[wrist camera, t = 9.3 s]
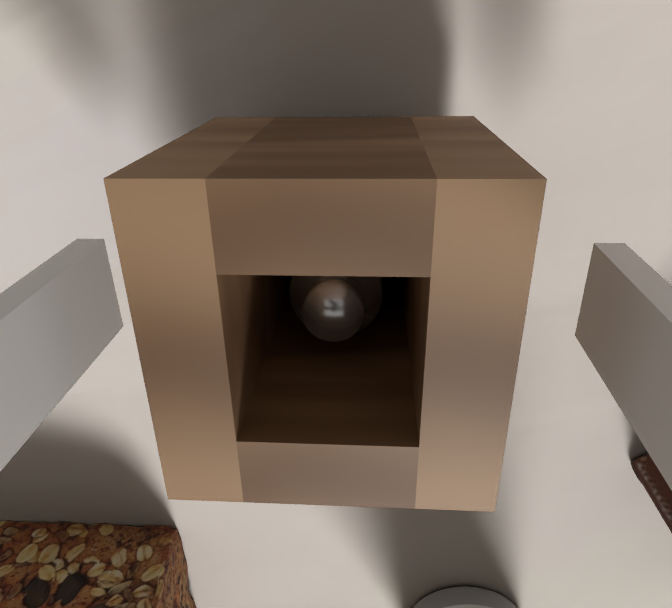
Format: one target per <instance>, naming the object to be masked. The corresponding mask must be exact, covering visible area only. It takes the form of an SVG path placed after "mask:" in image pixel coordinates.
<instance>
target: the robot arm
mask: <svg viewBox="0 0 672 608" xmlns="http://www.w3.org/2000/svg"><path fill="white" fill-rule="evenodd" d="M122 327H123V323H122V318H121V314H120V309H119V305H118V300H117V296H116V291H115V287H114V282H113V278H112V273H111V269H110V264H109V260H108V255H107V251H106V246H105V242H104V239H76V240H75V241H73V242H72V243H71V244H69V245H68V246H66V247H65V248H64V249H62V250H61V251H59V252H58V253H57V254H55V255H54V256H52V257H51V258H50V259H48V260H47V261H46V262H44V263H43V264H41V265H40V266H39V267H37V268H36V269H34V270H33V271H32V272H30V273H29V274H27V275H26V276H25V277H23V278H22V279H20V280H19V281H18V282H16V283H15V284H13V285H12V286H11V287H9V288H8V289H6V290H5V291H4V292H2V293H1V294H0V472H1V470H2V469H3V468H4V467H5V466H6V464H7V463H8V462H9V461H10V460H11V459H12V457H13V456H14V455H15V454H16V453H17V451H18V450H19V449H20V448H21V447H22V446H23V444H24V443H25V442H26V441H27V440H28V438H29V437H30V436H31V435H32V434H33V433H34V431H35V430H36V429H37V428H38V427H39V425H40V424H41V423H42V422H43V421H44V419H45V418H46V417H47V416H48V415H49V414H50V412H51V411H52V410H53V409H54V408H55V406H56V405H57V404H58V403H59V402H60V401H61V399H62V398H63V397H64V396H65V395H66V393H67V392H68V391H69V390H70V389H71V387H72V386H73V385H74V384H75V383H76V382H77V380H78V379H79V378H80V377H81V376H82V374H83V373H84V372H85V371H86V370H87V369H88V367H89V366H90V365H91V364H92V363H93V361H94V360H95V359H96V358H97V357H98V356H99V354H100V353H101V352H102V351H103V350H104V348H105V347H106V346H107V345H108V344H109V342H110V341H111V340H112V339H113V338H114V337H115V335H116V334H117V333H118V332H119V331H120V329H121V328H122ZM575 336H576V338H577V339H578V341H579V343H580V344H581V346H582V347H583V349H584V351H585V352H586V354H587V355H588V357H589V359H590V360H591V362H592V363H593V365H594V367H595V368H596V370H597V371H598V373H599V375H600V376H601V378H602V379H603V381H604V383H605V384H606V386H607V387H608V389H609V391H610V392H611V394H612V396H613V397H614V399H615V400H616V402H617V404H618V405H619V407H620V408H621V410H622V412H623V413H624V415H625V416H626V418H627V420H628V421H629V423H630V424H631V426H632V428H633V429H634V431H635V432H636V434H637V436H638V437H639V439H640V441H641V442H642V444H643V445H644V447H645V449H646V450H647V452H648V453H649V455H650V457H651V458H652V460H653V461H654V463H655V465H656V466H657V468H658V469H659V471H660V473H661V474H662V476H663V477H664V479H665V481H666V482H667V484H668V485H669V487H670V489H671V490H672V286H671V285H670V284H669V283H668V282H667V281H666V280H665V279H663V278H662V277H661V276H660V275H659V274H658V273H657V272H656V271H655V270H654V269H652V268H651V267H650V266H649V265H648V264H647V263H646V262H645V261H644V260H642V259H641V258H640V257H639V256H638V255H637V254H636V253H635V252H634V251H633V250H631V249H630V248H629V247H628V246H627V245H626V244H625V243H594V246H593V251H592V255H591V260H590V265H589V270H588V275H587V279H586V284H585V289H584V294H583V299H582V304H581V308H580V313H579V318H578V323H577V328H576V332H575Z"/></svg>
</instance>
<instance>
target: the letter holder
mask: <svg viewBox="0 0 672 608" xmlns="http://www.w3.org/2000/svg"><path fill="white" fill-rule="evenodd" d="M631 465H632V468H633V470H634V472H635V474H636V476H637V478H638V479H639V481H640V482H641V483H642V484H643V486H644V487H645V489H646V491H647V493H648V494H649V496H650V497H651V499H652V501H653V502H654V504H655V506H656V507H657V509H658V511H659V513H660V514H661V516H662V518H663V519H664V521H665V523H666V524H667V526H668V527H669V529H670V531H671V533H672V490H671V489H670V487H669V485H668V484H667V482H666V481H665V479H664V477H663V476H662V474H661V473H660V471H659V469H658V468H657V466H656V465H655V463H654V461H653V460H652V458H651V457H650V455H649V453H648V454H645V455H643V456H641V457H639V458H636V459H634V460H633V461H631Z"/></svg>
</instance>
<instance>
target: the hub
mask: <svg viewBox="0 0 672 608" xmlns="http://www.w3.org/2000/svg"><path fill="white" fill-rule="evenodd" d="M285 284H286V294H289V296H290V302H291V305H292V308H293V310H294V312H295V313H296V315H297V316H298V318H299V319H300V320H301V321H302V322H303V323H304V324H305V326H306V328H307V329H308V330H309V331H310V332H311V333H312V334H313V335H314V336H316V337H317V338H319V339H322V340H325V341H330V342H337V341H343V340H346V339H348V338H350V337H352V336H353V335H354V334H355V333H356V332H357V331H359V330H361V329H363V328H365V327H366V326H367V325H368V324H370V323H371V322H372V320H373V319H374V318H375V317H376V315H377V313H378V311H379V309H380V307H381V303H382V295H386V296H403V284H404V277H374V276H293V275H285Z"/></svg>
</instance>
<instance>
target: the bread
mask: <svg viewBox="0 0 672 608" xmlns="http://www.w3.org/2000/svg"><path fill="white" fill-rule="evenodd" d="M0 608H196V605H195V602H194V601H193V600H192V599H191V596H190V594H189V591H188V570H187V564H186V560H185V557H184V554H183V549H182V542H181V538H180V537H179V534H178V530H176V529H172V528H171V527H170V526H162V525H146V526H143V527H134V526H124V525H112V524H108V523H97V524H94V525H91V526H89V525H87V524H83V523H76V522H65V521H63V522H58V523H54V524H50V523H47V522H41V523H34V522H14V521H10V520H8V521H0Z"/></svg>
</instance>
